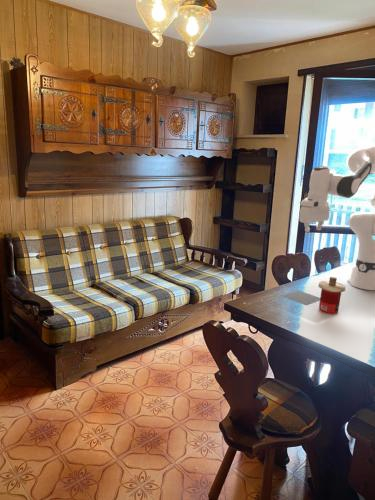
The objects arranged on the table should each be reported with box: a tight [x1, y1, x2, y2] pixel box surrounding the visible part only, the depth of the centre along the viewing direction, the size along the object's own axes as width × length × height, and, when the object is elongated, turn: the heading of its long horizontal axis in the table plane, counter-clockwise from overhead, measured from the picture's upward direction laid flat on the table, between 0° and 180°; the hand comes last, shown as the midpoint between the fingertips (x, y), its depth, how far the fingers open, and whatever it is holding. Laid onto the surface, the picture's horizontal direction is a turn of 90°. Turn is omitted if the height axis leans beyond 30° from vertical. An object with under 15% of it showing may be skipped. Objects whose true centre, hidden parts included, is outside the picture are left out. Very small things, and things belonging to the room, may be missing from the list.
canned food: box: [318, 289, 342, 315], centre depth 168 cm, size 8×8×11 cm
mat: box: [280, 289, 320, 306], centre depth 183 cm, size 14×14×1 cm
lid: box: [318, 276, 347, 293], centre depth 166 cm, size 11×11×4 cm
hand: (312, 230), depth 184 cm, fingers open, 8 cm apart
